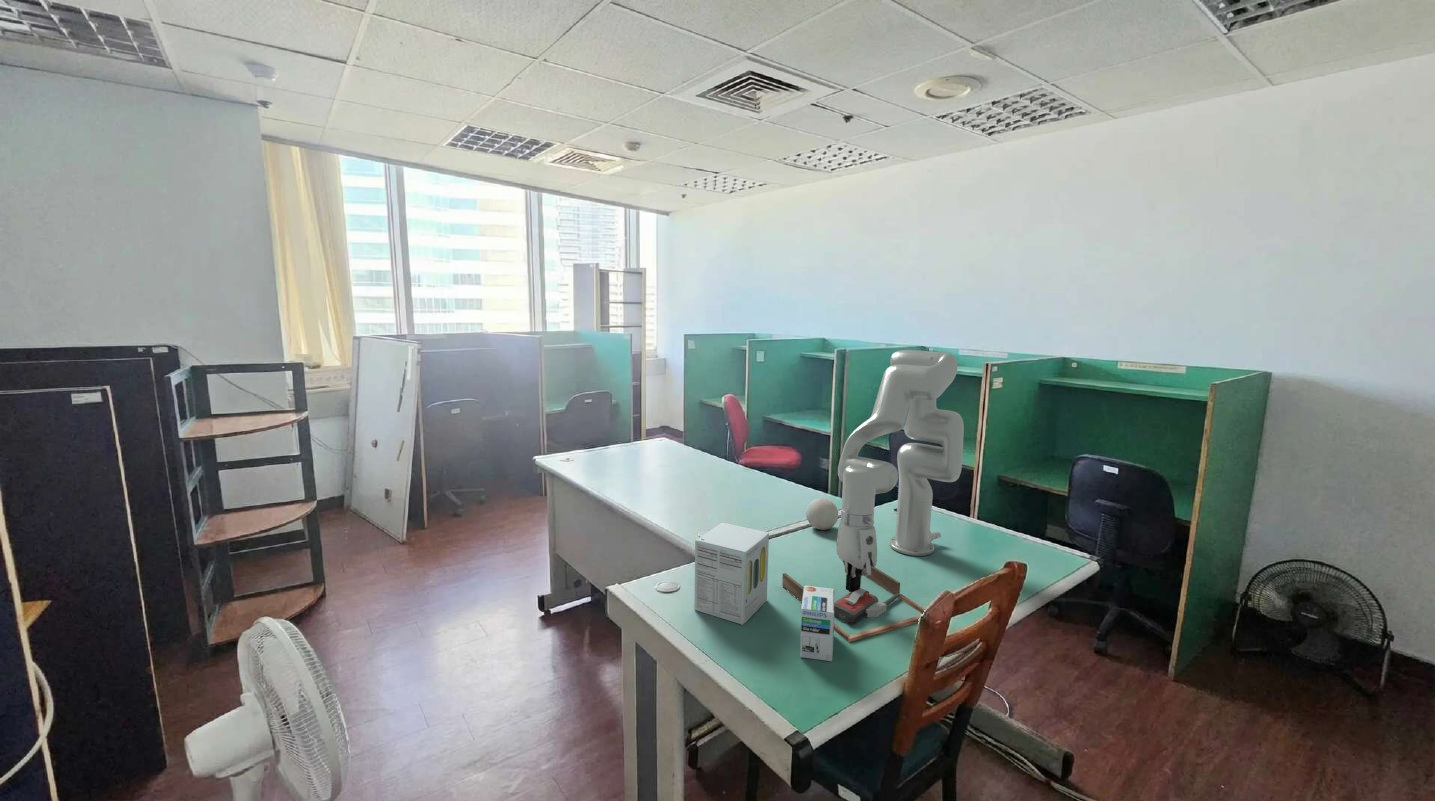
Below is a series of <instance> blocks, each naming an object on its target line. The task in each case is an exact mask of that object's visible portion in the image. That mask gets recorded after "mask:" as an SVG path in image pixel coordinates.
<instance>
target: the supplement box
mask: <svg viewBox="0 0 1435 801" xmlns="http://www.w3.org/2000/svg"><path fill="white" fill-rule="evenodd" d="M769 539H770V533H769V531H763V530H758V529H754V528H751V527H750V528H749V527H745V526H740V525H736V524H731V523H727V522H721V523H719V524H718V525H715V526H714V527H713V528H711V529H710V530H708V531H707V532H706V533H704V534H703V535H701V536H700V537H698V538H696V539H695V541H694V544H695V545H694V603H693V604H694V605H693V606H694V610H695V611H697V612H701V613H704V614H707V615H711V616H714V617H716V618H720V619H724V620H726V621H730V622H731V623H736V624H737V625H741V626H744V625H745V623H747V621H749V619H750V618H752V616H753V615H755V613H756V612H758V610H759V609H760V608H761V607H763V605H765V603H766V602H767V600H768V580H769V579H768V578H769V577H768V575H769V574H768V571H769V569H768V568H769V544H770V542H769Z"/></svg>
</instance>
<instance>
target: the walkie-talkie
mask: <svg viewBox="0 0 1435 801" xmlns="http://www.w3.org/2000/svg"><path fill="white" fill-rule="evenodd" d="M900 594H901V593H900ZM900 594H899V593H897V594H895V595H894V594H893V595H892V596H891V597H890V598H888V599H887V600H885V601H880V600H879V598H878V597H877V596H876V595H874V594H871V593H870V592H869V591H868V590H867V589H863V588H861V587H860V588H859V589H858V590H856V591H854V592H849V593H848V594H845V595H844V596H843V597H841V598H839V599H838V600H836V601H834V618H836V619H839V620H841V621H843V622H845V623H847V624H848V625H855V624H856V623H858V622H860V621H861V620H862V619H863V618H877V617H879V616H881V615H882V614H883V613H886V612H887V607H888V606H889V605H891V604H892V603H893V602H894V601H895V600H896V599H898V597H899V596H900Z"/></svg>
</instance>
